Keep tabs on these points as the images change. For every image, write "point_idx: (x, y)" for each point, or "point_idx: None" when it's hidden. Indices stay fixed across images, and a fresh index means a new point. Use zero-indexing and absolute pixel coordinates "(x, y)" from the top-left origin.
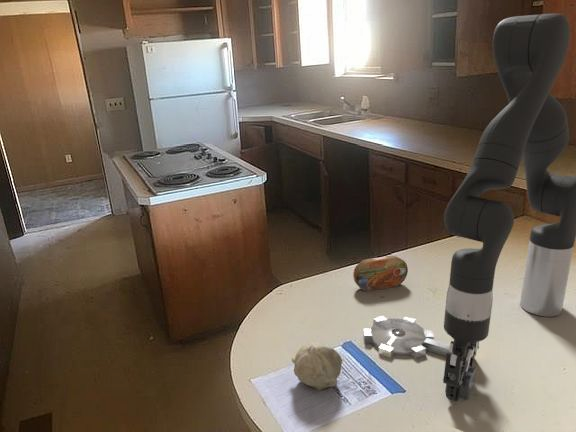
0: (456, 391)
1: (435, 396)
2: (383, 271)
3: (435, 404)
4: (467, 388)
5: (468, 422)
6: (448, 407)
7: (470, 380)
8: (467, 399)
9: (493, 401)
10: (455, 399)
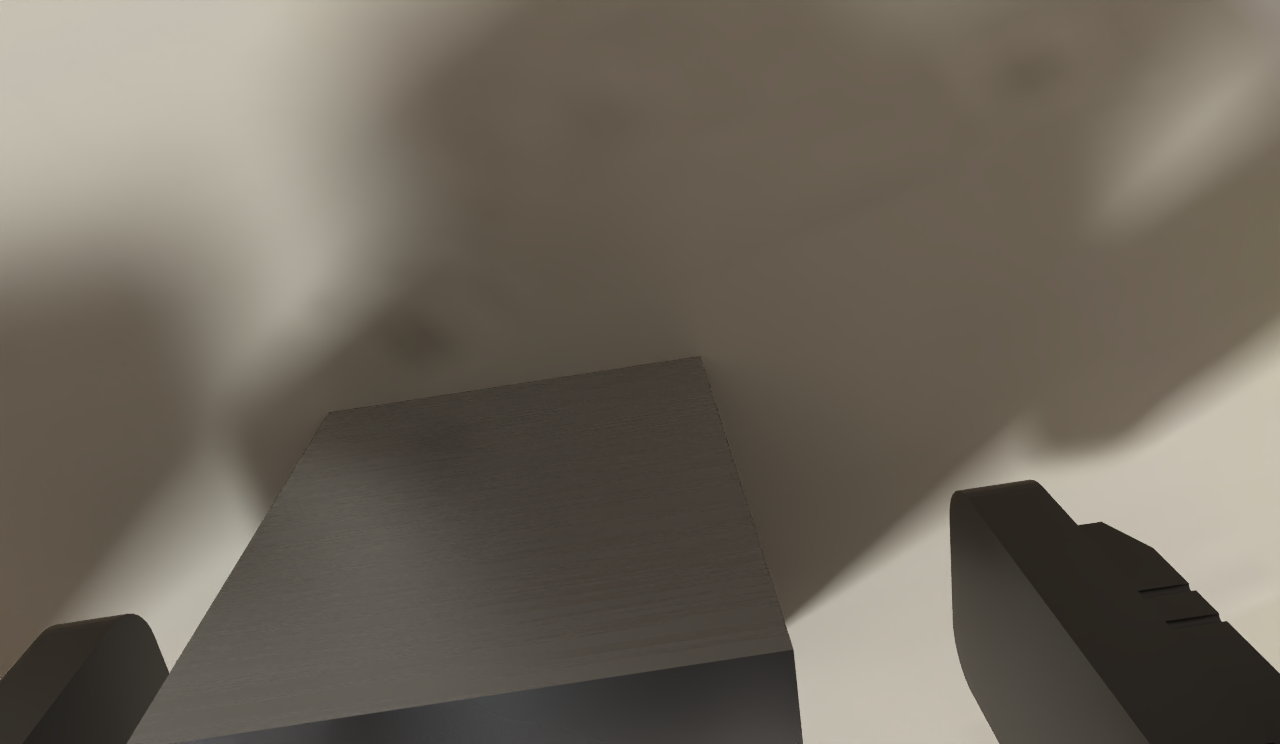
0: (1206, 645)
1: (867, 724)
2: None
3: None
4: (742, 509)
5: (1174, 136)
6: None
7: (664, 600)
8: (698, 377)
9: (347, 4)
10: (1114, 529)
